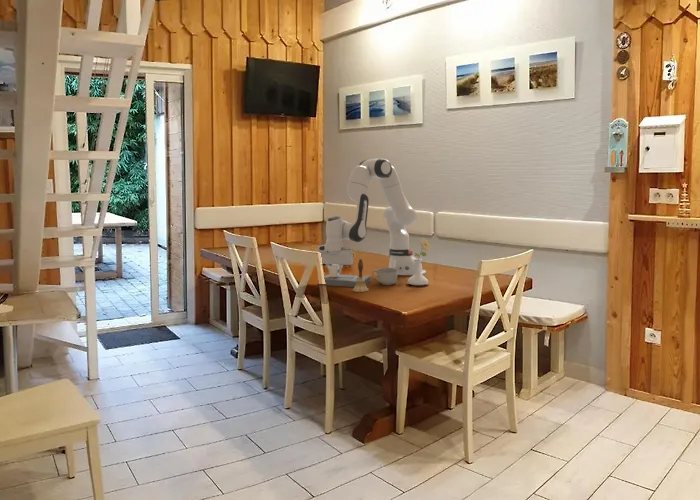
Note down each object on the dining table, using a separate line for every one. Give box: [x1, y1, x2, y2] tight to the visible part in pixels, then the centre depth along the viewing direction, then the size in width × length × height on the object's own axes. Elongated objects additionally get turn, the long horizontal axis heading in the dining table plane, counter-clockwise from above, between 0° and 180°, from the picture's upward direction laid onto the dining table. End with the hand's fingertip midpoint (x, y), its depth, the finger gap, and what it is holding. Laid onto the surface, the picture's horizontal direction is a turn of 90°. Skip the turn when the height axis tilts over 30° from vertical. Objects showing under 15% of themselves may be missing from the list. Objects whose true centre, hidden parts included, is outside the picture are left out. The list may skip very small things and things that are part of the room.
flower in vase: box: [406, 237, 432, 287], centre depth 323 cm, size 13×11×25 cm
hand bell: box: [352, 258, 370, 293], centre depth 311 cm, size 8×8×16 cm
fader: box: [329, 264, 341, 277], centre depth 331 cm, size 4×5×6 cm
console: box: [323, 273, 371, 288], centre depth 330 cm, size 24×16×3 cm, turn 71°
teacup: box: [371, 267, 398, 286], centre depth 328 cm, size 14×11×8 cm
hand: (334, 272), depth 332 cm, fingers closed on fader, 4 cm apart
